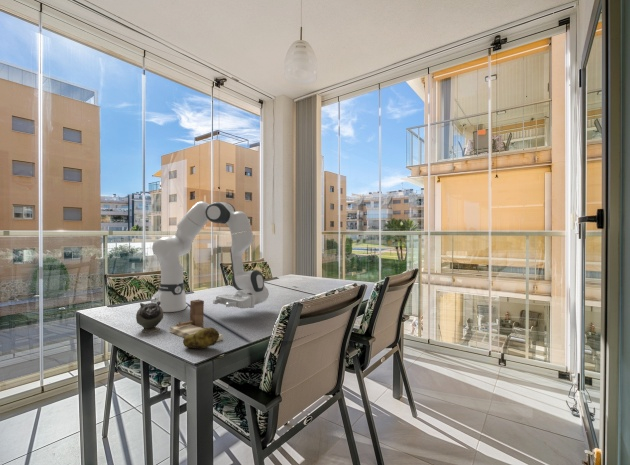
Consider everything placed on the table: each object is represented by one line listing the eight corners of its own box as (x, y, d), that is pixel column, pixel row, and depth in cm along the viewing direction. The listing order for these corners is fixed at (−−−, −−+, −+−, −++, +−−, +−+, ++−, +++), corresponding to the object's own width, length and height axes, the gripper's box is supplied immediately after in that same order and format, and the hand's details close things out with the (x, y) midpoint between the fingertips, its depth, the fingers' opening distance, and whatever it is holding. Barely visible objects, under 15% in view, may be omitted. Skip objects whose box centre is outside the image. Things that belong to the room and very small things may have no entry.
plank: (170, 332, 134) (170, 327, 134) (187, 327, 141) (187, 323, 141) (205, 345, 120) (205, 340, 120) (222, 339, 127) (222, 334, 127)
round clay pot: (142, 336, 129) (167, 329, 137) (142, 306, 129) (167, 302, 137) (132, 330, 136) (157, 324, 144) (132, 302, 135) (157, 298, 143)
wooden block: (174, 331, 135) (175, 303, 135) (197, 325, 144) (198, 299, 144) (180, 333, 133) (180, 305, 133) (203, 327, 142) (203, 300, 142)
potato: (198, 342, 124) (198, 321, 124) (222, 349, 117) (223, 327, 117) (179, 348, 116) (180, 327, 116) (204, 356, 110) (205, 333, 110)
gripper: (229, 290, 168) (206, 294, 157) (256, 295, 156) (234, 299, 145) (229, 302, 168) (206, 307, 157) (256, 307, 156) (234, 313, 145)
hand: (220, 303), depth 151 cm, fingers open, 8 cm apart
